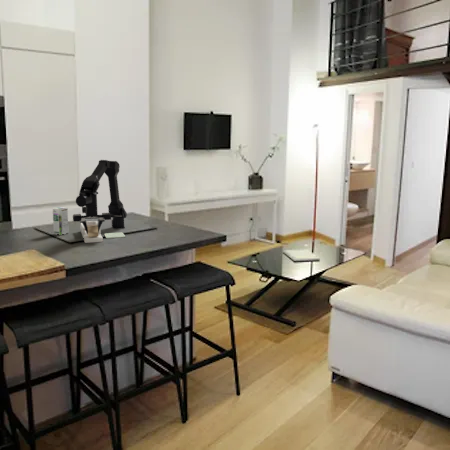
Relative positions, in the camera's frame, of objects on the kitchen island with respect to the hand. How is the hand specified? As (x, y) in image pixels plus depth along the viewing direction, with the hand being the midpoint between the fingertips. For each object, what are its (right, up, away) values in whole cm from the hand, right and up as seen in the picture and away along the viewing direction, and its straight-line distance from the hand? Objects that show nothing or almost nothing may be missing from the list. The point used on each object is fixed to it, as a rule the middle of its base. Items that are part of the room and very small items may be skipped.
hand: (92, 233), depth 244 cm
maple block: (0, -1, -1) cm, 1 cm away
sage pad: (+9, -2, +10) cm, 14 cm away
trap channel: (-3, -2, +8) cm, 9 cm away
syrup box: (-21, -1, +12) cm, 24 cm away
